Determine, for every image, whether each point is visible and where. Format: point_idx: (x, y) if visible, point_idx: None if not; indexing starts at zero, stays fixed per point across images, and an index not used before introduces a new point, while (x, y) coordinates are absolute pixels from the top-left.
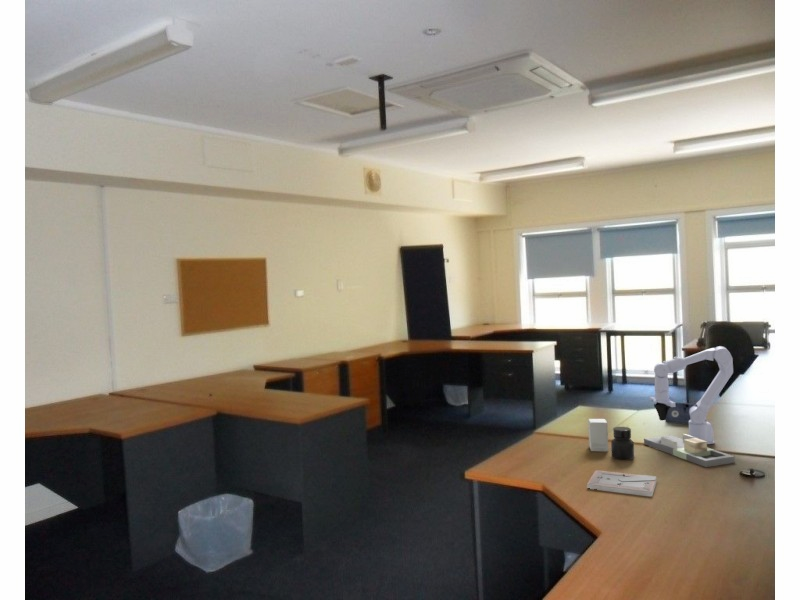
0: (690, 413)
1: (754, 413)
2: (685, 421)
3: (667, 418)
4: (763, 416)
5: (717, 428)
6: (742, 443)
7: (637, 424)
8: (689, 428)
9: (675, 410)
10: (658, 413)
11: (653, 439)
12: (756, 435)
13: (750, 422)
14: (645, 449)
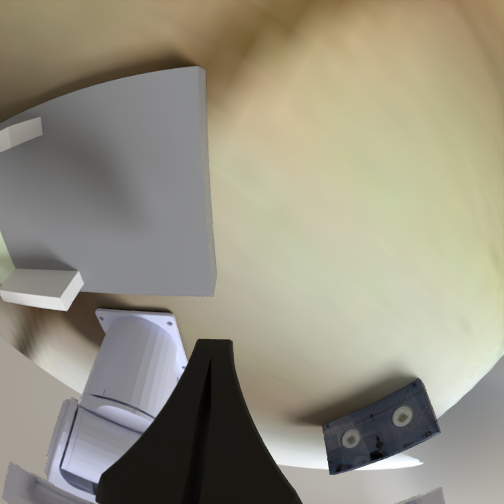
0: (95, 452)
1: (320, 463)
2: (370, 410)
3: (417, 391)
4: (298, 465)
5: (280, 429)
6: None
7: (477, 303)
8: (127, 374)
9: (403, 426)
10: (227, 401)
11: (142, 122)
12: None
13: (280, 456)
14: (100, 24)
